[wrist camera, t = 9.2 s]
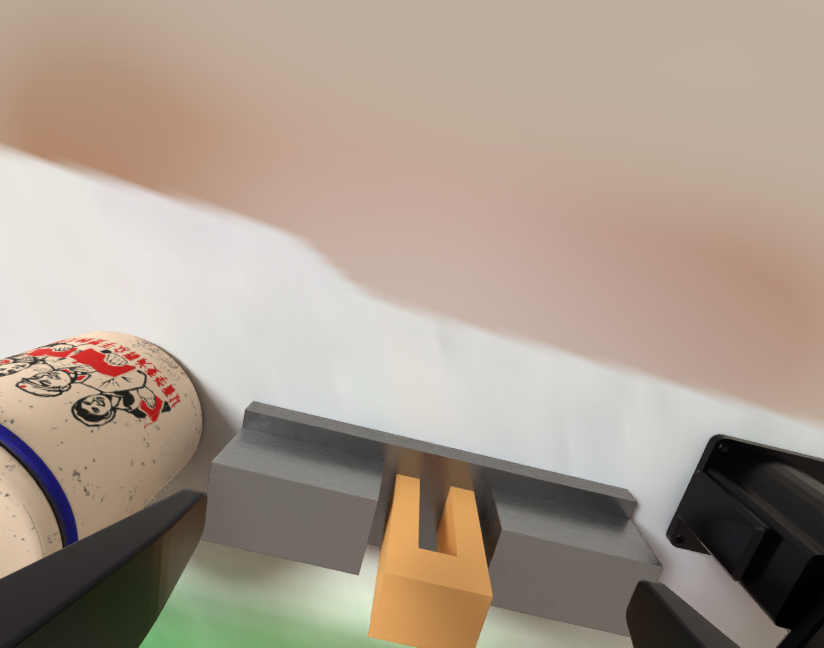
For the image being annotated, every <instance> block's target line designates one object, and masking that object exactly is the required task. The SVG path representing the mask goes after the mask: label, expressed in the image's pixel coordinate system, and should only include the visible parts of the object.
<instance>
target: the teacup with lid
mask: <svg viewBox="0 0 824 648" xmlns="http://www.w3.org/2000/svg"><path fill="white" fill-rule="evenodd" d="M201 433H202V410H201V405H200V401H199V398H198V395H197V393H196V390H195V388H194V386H193V384H192V383H191V381H190V379H189V378H188V376H187V375H186V373H185V372H184V371H183V369H182V368H181V367H180V366H179V365H178V364H177V363H176V362H175V361H174V360H173V359H172V358H171V357H170V356H169V355H168V354H166V353H165V352H164V351H162V350H161V349H159V348H158V347H156V346H155V345H153V344H151V343H149V342H147V341H145V340H143V339H140V338H138V337H135V336H131V335H128V334H123V333H118V332H105V331H100V332H90V333H85V334H81V335H78V336H74V337H71V338H68V339H65V340H62V341H58V342H55V343H52V344H49V345H46V346H42V347H39V348H36V349H33V350H30V351H27V352H23V353H20V354H17V355H14V356H11V357H7V358H4V359H1V360H0V579H1V578H3V577H5V576H7V575H9V574H11V573H13V572H15V571H17V570H19V569H21V568H23V567H25V566H27V565H29V564H31V563H33V562H36V561H38V560H40V559H42V558H44V557H46V556H48V555H50V554H52V553H54V552H56V551H58V550H60V549H62V548H64V547H66V546H68V545H70V544H73V543H75V542H77V541H79V540H81V539H83V538H85V537H87V536H89V535H91V534H93V533H95V532H97V531H99V530H101V529H103V528H105V527H107V526H110V525H112V524H114V523H116V522H118V521H120V520H122V519H124V518H126V517H128V516H130V515H132V514H134V513H136V512H138V511H140V510H142V509H143V508H144V507H145V506H146V505H147V504H148V503H149V502H150V501H151V500H152V499H153V498H154V497H155V496H156V495H157V494H158V493H159V492H160V491H161V490H162V489H163V488H164V487H165V486H166V485H167V484H168V483H169V482H170V481H171V480H172V479H173V478H174V477H175V476H176V475H177V474H178V473H179V472H180V471H181V470H182V469H183V468H184V467H185V466H186V465H187V463H188V462H189V461H190V460H191V458H192V457H193V455H194V453H195V451H196V449H197V447H198V444H199V441H200V438H201Z"/></svg>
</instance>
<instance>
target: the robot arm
mask: <svg viewBox="0 0 824 648" xmlns="http://www.w3.org/2000/svg"><path fill="white" fill-rule="evenodd" d="M722 443H724V444H723V446H722V447H720V448H719V446H720V445H721V444H722ZM207 500H208V497H207V494H206V493H205V492H204V491H199V490H194V489H184V490H181V491H179V492H177V493H175V494H173V495H171V496H169V497H167V498H165V499H163V500H161V501H159V502H157V503H155V504H153V505H151V506H149V507H146V508H144V509H142V510H140V511H138V512H136V513H134V514H132V515H130V516H128V517H126V518H124V519H122V520H120V521H118V522H116V523H114V524H112V525H110V526H107V527H105V528H103V529H101V530H99V531H97V532H95V533H93V534H91V535H89V536H87V537H85V538H83V539H81V540H79V541H77V542H75V543H73V544H70V545H68V546H66V547H64V548H62V549H60V550H58V551H56V552H54V553H52V554H50V555H48V556H46V557H44V558H42V559H40V560H38V561H36V562H33V563H31V564H29V565H27V566H25V567H23V568H21V569H19V570H17V571H15V572H13V573H11V574H9V575H7V576H5V577H3V578H1V579H0V648H139V646H140V645H141V643H142V642H143V640H144V639H145V637H146V636H147V634H148V633H149V631H150V629H151V628H152V626H153V625H154V623H155V622H156V620H157V618H158V617H159V615H160V613H161V611H162V609H163V608H164V606H165V604H166V602H167V600H168V598H169V597H170V595H171V593H172V591H173V589H174V587H175V585H176V584H177V582H178V580H179V578H180V576H181V574H182V572H183V571H184V569H185V567H186V565H187V563H188V561H189V559H190V558H191V556H192V554H193V552H194V550H195V548H196V546H197V545H198V543H199V541H200V539H201V537H202V534H203V531H204V528H205V520H206V510H207ZM679 535H680V536H679ZM666 536H667V539H668V540H669V541H670V542H671V544H672V545H673V546H675V547H678V548H682V549H687V550H691V551H695V552H700V553H704V554H708V555H712V556H713V557H714V559H715V560H716V561H717V562H718V563H719V564H720V565H721V567H722V568H723V569H724V570H725V571H726V572H727V574H728V575H729V576H730V577H731V578H732V579H733V580H734V581H737V582H738V583H739V584H740V585H741V586H742V587H743V588H744V590H745V591H746V592H747V593H748V594H749V595H750V596H751V598H752V599H753V600H754V601H755V602H756V603H757V604H758V606H759V607H760V608H761V609H762V610H763V611H764V612H765V614H766V615H767V616H768V617H769V618H770V619H771V620H772V621H773V623H774V624H775V625H776V626H778V627H782V628H785V629H786V630H787V631H788V633H787V635H786V636H785V637H784V638H783V639H782V640H781V642H780V643H779V644H778V645H777V646H776V647H775V648H824V459H822V458H818V457H813V456H809V455H805V454H801V453H797V452H793V451H789V450H784V449H780V448H776V447H772V446H768V445H764V444H760V443H755V442H751V441H747V440H743V439H739V438H735V437H731V436H726V435H721V434H718V435H715V436H713V437H712V438H711V439H710V440H709V442H708V444H707V446H706V448H705V450H704V453H703V455H702V457H701V459H700V461H699V463H698V465H697V468H696V470H695V472H694V474H693V476H692V478H691V481H690V483H689V485H688V487H687V489H686V491H685V493H684V496H683V498H682V500H681V502H680V504H679V506H678V508H677V511H676V513H675V515H674V517H673V519H672V521H671V524H670V526H669V528H668V530H667V533H666ZM677 536H679V537H677ZM676 537H677V538H676ZM626 622H627V626H628V630H629V633H630V637H631V640H632V643H633V647H634V648H740V647H739V646H738V645H736V644H735V643H734V642H733V641H732V640H730V639H729V638H728V637H727V636H726V635H724V634H723V633H722V632H721V631H720V630H718V629H717V628H716V627H715V626H714V625H712V624H711V623H710V622H709V621H708V620H706V619H705V618H704V617H703V616H701V615H700V614H699V613H698V612H697V611H695V610H694V609H693V608H692V607H691V606H689V605H688V604H687V603H686V602H685V601H683V600H682V599H681V598H680V597H679V596H677V595H676V594H675V593H674V592H673V591H671V590H670V589H669V588H668V587H667V586H665V585H664V584H662V583H660V582H656V581H651V580H646V579H642V580H640V581H639V582H638V583H637V585H636V587H635V590H634V592H633V594H632V597H631V599H630V601H629V604H628V606H627V609H626Z"/></svg>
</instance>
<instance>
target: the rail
mask: <svg viewBox="0 0 824 648" xmlns="http://www.w3.org/2000/svg"><path fill="white" fill-rule="evenodd" d="M397 474H399V475H404V476H408V477H413V478H417V479H420V498H419V540H418V548H420V549H425V550H429V551H434V552H437V539H436V535H437V531H438V528H439V525H440V521H441V518H442V514H443V511H444V508H445V504H446V501H447V497H448V494H449V491H450V487H451V486H452V487H456V488H461V489H465V490H470V491H474V495H475V500H476V506H477V512H478V517H479V523H480V528H481V534H482V539H483V545H484V550H485V556H486V561H487V567H488V572H489V578H490V583H491V589H492V594H493V598H492V601H491V604H490V605H491V606H495V607H500V608H504V609H508V610H513V611H517V612H522V613H526V614H530V615H535V616H539V617H544V618H548V619H552V620H557V621H561V622H566V623H570V624H574V625H579V626H583V627H588V628H592V629H596V630H601V631H605V632H610V633H614V634H618V635H623V636H627V637H630V633H629V630H628V626H627V622H626V609H627V606H628V604H629V601H630V599H631V597H632V594H633V592H634V590H635V587H636V585H637V583H638V582H639V581H640V580H642V579H646V580H651V581H657V579H658V577H659V575H660V573H661V571H662V569H663V566H662V565H661V563H660V562H659V560H658V559H657V557H656V556H655V555H654V553H653V552H652V550H651V549H650V547H649V546H648V544H647V543H646V542H645V540H644V539H643V537H642V536H641V534H640V533H639V532H638V530H637V529H636V527H635V526H634V524H633V523H632V522H631V520H630V517H631V514H632V512H633V510H634V508H635V505H636V503H637V502H636V500H635V499H634V498H633V497H632V495H631V494H630V493H629V491H628V490H627V489H622V488H618V487H614V486H610V485H606V484H601V483H597V482H593V481H589V480H584V479H580V478H576V477H572V476H567V475H563V474H559V473H555V472H551V471H546V470H542V469H538V468H534V467H529V466H525V465H521V464H517V463H513V462H508V461H504V460H500V459H496V458H491V457H487V456H483V455H479V454H474V453H470V452H466V451H462V450H458V449H453V448H449V447H445V446H441V445H436V444H432V443H428V442H424V441H419V440H415V439H411V438H407V437H403V436H398V435H394V434H390V433H386V432H381V431H377V430H373V429H369V428H365V427H360V426H356V425H352V424H348V423H343V422H339V421H335V420H331V419H326V418H322V417H318V416H314V415H310V414H305V413H301V412H297V411H293V410H288V409H284V408H280V407H276V406H271V405H267V404H263V403H259V402H255V401H253V402H252V403H251V404H250V405H249V406H248V407H247V408H246V409H245V413H244V420H243V426H242V429H241V430H240V431H239V432H238V433H237V434H236V435H235V436H234V437H233V439H232V440H231V441H230V442H229V443H228V444H227V445H226V446H225V447H224V448H223V449H222V451H221V452H220V453H219V454H218V455H217V456H216V457H215V458H214V459H213V460H212V462H211V466H210V473H209V481H208V488H207V497H208V500H207V510H206V520H205V528H204V531H203V534H202V537H201V540H205V541H210V542H214V543H218V544H223V545H227V546H232V547H236V548H240V549H245V550H249V551H254V552H258V553H262V554H267V555H271V556H276V557H280V558H284V559H289V560H293V561H298V562H302V563H306V564H311V565H315V566H320V567H324V568H328V569H333V570H337V571H341V572H346V573H350V574H355V575H359V572H360V568H361V564H362V561H363V557H364V553H365V549H366V545H367V544H370V545H375V546H379V547H381V542H382V535H383V527H384V522H385V518H386V514H387V510H388V506H389V502H390V498H391V494H392V490H393V487H394V483H395V479H396V475H397Z"/></svg>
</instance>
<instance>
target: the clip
mask: <svg viewBox="0 0 824 648" xmlns="http://www.w3.org/2000/svg"><path fill="white" fill-rule="evenodd" d="M419 498H420V479H417V478H413V477H408V476H404V475H399V474H397V475H396V479H395V483H394V487H393V490H392V494H391V498H390V502H389V506H388V510H387V514H386V518H385V522H384V527H383V535H382V542H381V549H380V556H379V563H378V570H377V577H376V584H375V591H374V598H373V606H372V613H371V620H370V627H369V634H368V637H372V638H376V639H381V640H386V641H390V642H395V643H399V644H404V645H409V646H413V647H418V648H475V647H476V644H477V641H478V638H479V635H480V632H481V630H482V627H483V624H484V621H485V618H486V615H487V612H488V610H489V607H490V604H491V601H492V598H493V594H492V589H491V583H490V578H489V572H488V567H487V561H486V556H485V550H484V545H483V539H482V534H481V528H480V523H479V517H478V512H477V506H476V500H475V495H474V491H470V490H465V489H461V488H456V487H452V486H451V487H450V491H449V494H448V497H447V501H446V504H445V508H444V511H443V514H442V518H441V521H440V525H439V528H438V531H437V535H436V539H437V552H434V551H429V550H425V549H420V548H418V540H419Z"/></svg>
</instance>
